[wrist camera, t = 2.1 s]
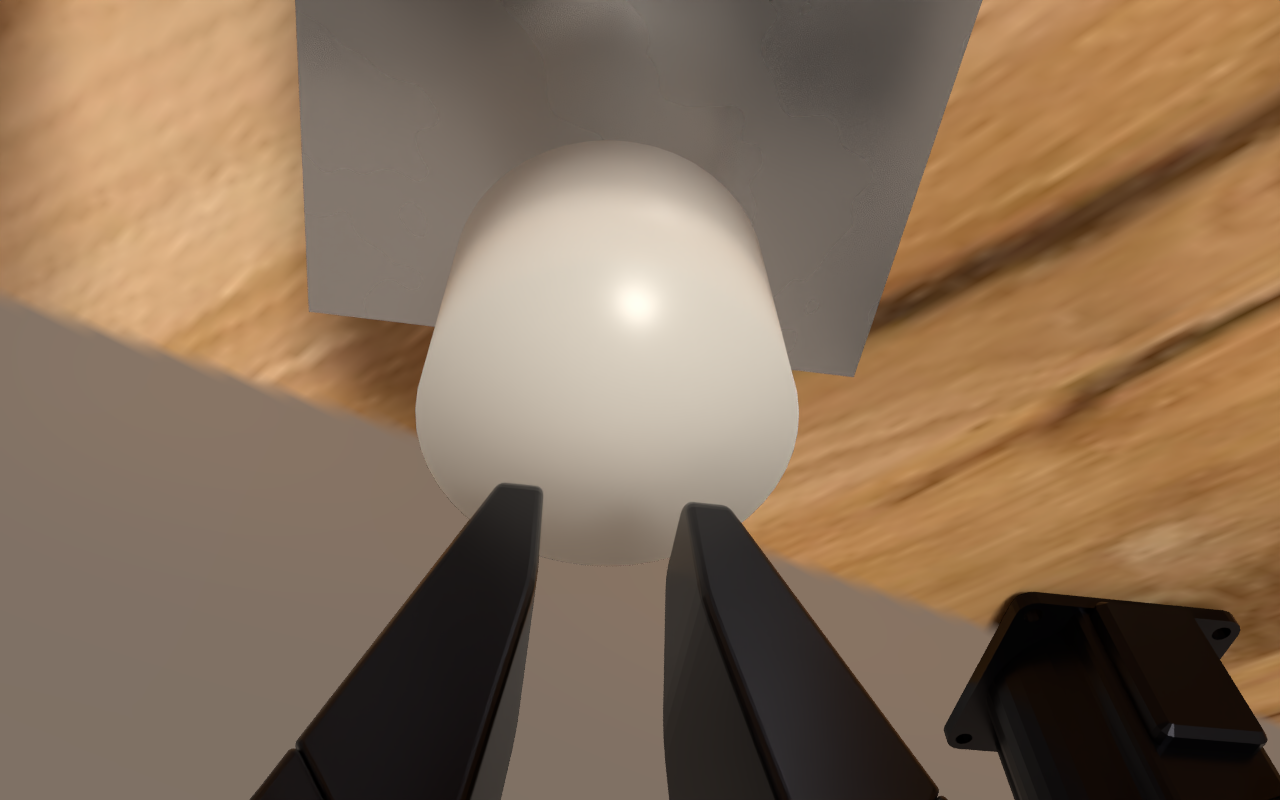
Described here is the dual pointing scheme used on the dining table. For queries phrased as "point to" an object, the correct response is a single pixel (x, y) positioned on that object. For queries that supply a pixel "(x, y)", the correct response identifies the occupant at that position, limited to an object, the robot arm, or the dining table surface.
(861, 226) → the console
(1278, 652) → the dining table surface
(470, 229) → the knob
